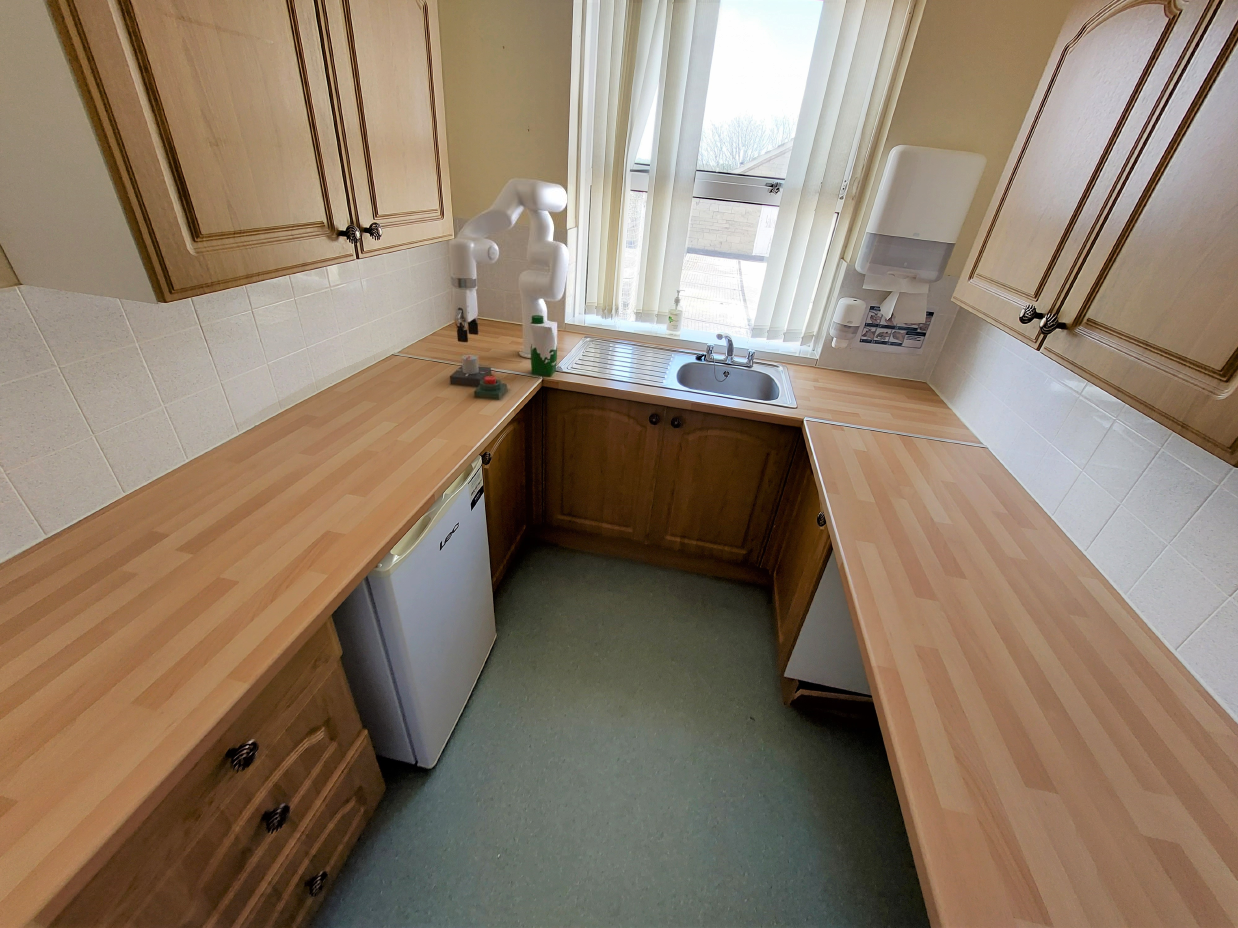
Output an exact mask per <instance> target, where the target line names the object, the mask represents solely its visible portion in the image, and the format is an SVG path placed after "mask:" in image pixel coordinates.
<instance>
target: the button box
mask: <svg viewBox="0 0 1238 928" xmlns="http://www.w3.org/2000/svg"><path fill="white" fill-rule="evenodd" d="M507 391H508V383H506V382H505V383H504V382H502V381H501V379H499V378H496V384H485V379H483V380H481V381H480V385H479V386H478V387H475V389H474V391H473V397H474V398H475V399H486V400H495V401H500V400H501V399H502V397H503V396H504V395H505V393H506V392H507Z"/></svg>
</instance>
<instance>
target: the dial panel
mask: <svg viewBox="0 0 1238 928" xmlns="http://www.w3.org/2000/svg"><path fill="white" fill-rule="evenodd" d="M478 366H479V372H478V373H475V374H466V373H464V372H463V367H462V365H461V366H459V368H457V369H456V370H455V371H453V372H452V373H451V374H450V375H449V383H450V385H452V386H461V387H472V388H477V387H478V386H479V385H480V381H481V380H483V379H484V378H485V377H487V376H492V367H491V366H482V365H481V366H480V365H478Z"/></svg>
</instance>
